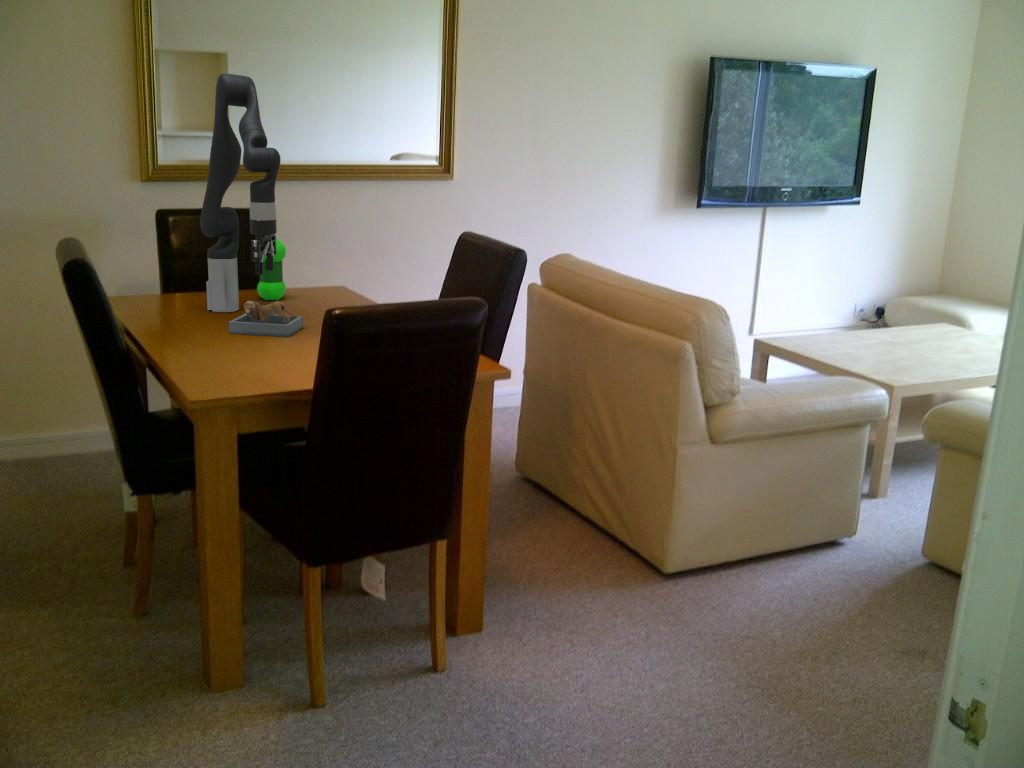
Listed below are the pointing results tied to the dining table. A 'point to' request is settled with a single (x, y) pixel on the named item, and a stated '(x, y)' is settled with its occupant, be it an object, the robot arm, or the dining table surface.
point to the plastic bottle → (273, 276)
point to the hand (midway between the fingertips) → (264, 272)
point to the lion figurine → (266, 310)
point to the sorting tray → (265, 326)
